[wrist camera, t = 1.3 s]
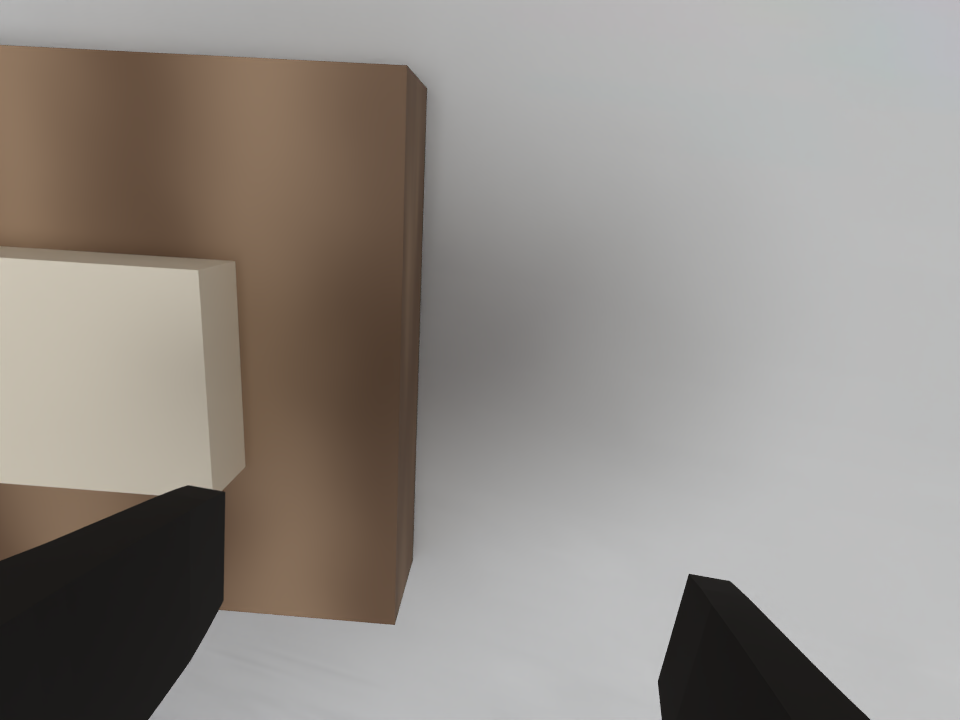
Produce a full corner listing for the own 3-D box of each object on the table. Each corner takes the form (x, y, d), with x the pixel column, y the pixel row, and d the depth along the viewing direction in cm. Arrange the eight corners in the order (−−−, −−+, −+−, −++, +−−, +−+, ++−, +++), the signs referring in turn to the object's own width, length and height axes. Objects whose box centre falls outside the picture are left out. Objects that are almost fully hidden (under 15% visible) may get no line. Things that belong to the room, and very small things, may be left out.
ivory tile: (-19, 446, 18) (-81, 476, 17) (-54, 242, 17) (-127, 249, 15) (245, 466, 18) (213, 499, 16) (235, 261, 17) (197, 270, 15)
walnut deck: (41, 530, 23) (-39, 587, 20) (-29, 65, 19) (-146, 37, 16) (412, 560, 23) (394, 624, 19) (426, 88, 18) (407, 65, 15)
